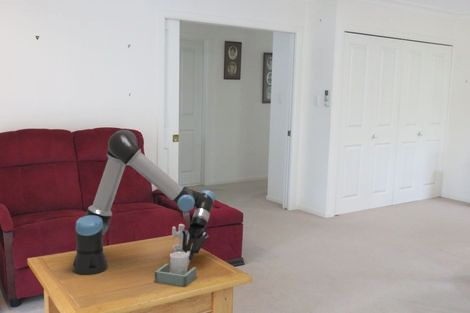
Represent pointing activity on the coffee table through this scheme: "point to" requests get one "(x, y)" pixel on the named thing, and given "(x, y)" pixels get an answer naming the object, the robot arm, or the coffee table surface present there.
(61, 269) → the coffee table surface
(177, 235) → the figurine
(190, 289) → the coffee table surface
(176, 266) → the white cup
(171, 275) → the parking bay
